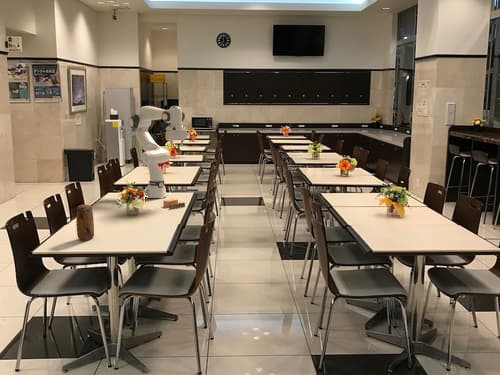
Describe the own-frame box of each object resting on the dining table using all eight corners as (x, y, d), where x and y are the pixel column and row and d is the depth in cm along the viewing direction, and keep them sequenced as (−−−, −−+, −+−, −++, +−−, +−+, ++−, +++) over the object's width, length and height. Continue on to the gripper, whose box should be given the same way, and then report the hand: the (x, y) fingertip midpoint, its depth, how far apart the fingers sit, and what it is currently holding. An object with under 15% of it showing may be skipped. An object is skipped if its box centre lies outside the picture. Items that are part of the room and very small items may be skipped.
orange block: (163, 206, 390) (163, 200, 389) (173, 205, 396) (172, 198, 396) (168, 208, 386) (168, 201, 385) (178, 206, 392) (177, 199, 392)
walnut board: (169, 209, 382) (169, 205, 381) (183, 206, 391) (183, 202, 390) (171, 209, 380) (170, 205, 380) (185, 206, 389) (184, 202, 389)
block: (83, 236, 308) (81, 203, 304) (95, 236, 307) (93, 203, 304) (75, 241, 297) (73, 207, 294) (88, 242, 297) (86, 207, 293)
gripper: (183, 126, 403) (183, 144, 406) (163, 128, 387) (164, 146, 390) (189, 127, 399) (189, 144, 402) (169, 128, 383) (170, 147, 386)
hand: (177, 145), depth 396 cm, fingers open, 8 cm apart
